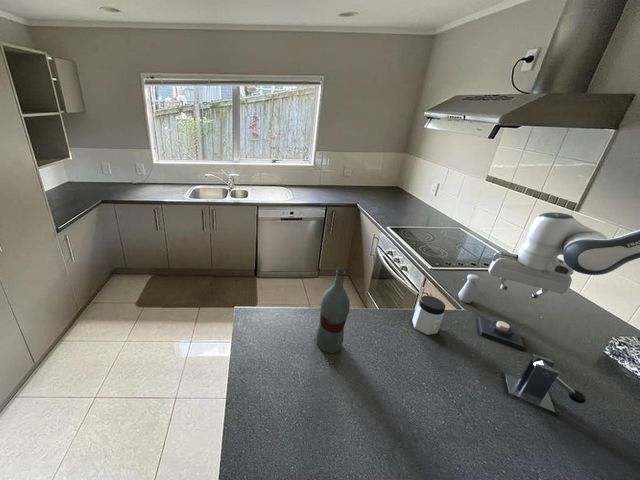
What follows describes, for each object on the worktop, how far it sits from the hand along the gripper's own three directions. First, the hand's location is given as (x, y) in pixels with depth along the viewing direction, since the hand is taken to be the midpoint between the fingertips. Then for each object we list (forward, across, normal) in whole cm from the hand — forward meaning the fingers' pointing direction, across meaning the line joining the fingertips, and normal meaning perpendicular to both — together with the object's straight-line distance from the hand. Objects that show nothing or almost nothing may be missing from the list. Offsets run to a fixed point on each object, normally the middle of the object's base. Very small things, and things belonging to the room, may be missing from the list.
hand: (518, 293), depth 98 cm
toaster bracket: (+19, +4, -26) cm, 33 cm away
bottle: (+20, -52, -42) cm, 69 cm away
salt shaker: (+20, -10, +18) cm, 28 cm away
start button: (+16, 0, 0) cm, 16 cm away
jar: (+20, -24, -12) cm, 33 cm away
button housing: (+19, 0, 0) cm, 19 cm away
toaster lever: (+12, +8, -26) cm, 30 cm away
